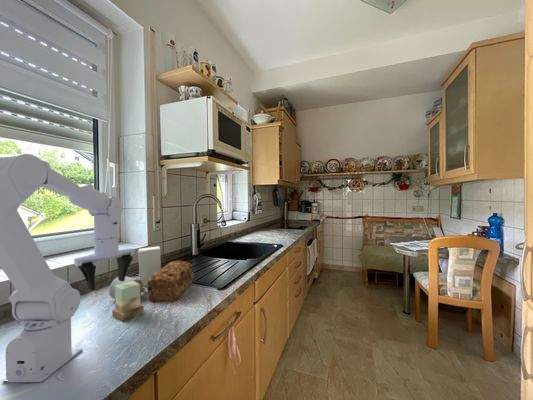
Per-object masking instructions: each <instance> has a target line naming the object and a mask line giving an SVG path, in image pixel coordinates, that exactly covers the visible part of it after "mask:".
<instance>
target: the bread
mask: <svg viewBox="0 0 533 400" xmlns="http://www.w3.org/2000/svg"><path fill="white" fill-rule="evenodd" d="M194 272H195V271H194V265H193V264H191V263H190V262H188V261H185V260H181V259H180V260H172V261H170V262H169V263H167V264H166V265H164V266H163V267H161V269H160V270H159V271H157V272H156V273H155V274H153V275H152V276H151V277H150V278H149V279H148V282H147V286H146V287H147V288H146V290H147V296H148V301H149V302H156V303H157V302H158V303H159V302H161V301H163V302H177V300H178V299H179V298H180V297H181V296H182V295H183V294H184V293H185V291H186V290H187V289H188V288H189V287H190V286H191V285H192V283H193V280H194Z"/></svg>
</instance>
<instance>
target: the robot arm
mask: <svg viewBox="0 0 533 400" xmlns="http://www.w3.org/2000/svg"><path fill="white" fill-rule="evenodd" d="M40 188H44V189H47V190H50V191H52V192H55V193H56V194H60V195H63V196H66V197H68V200H69V202H70V203H71V204H72V205H74V206H76V207H79V208H81V209H84V210H86V211H88V213H89V215H90V216H91V217H93V227H94V228H93V230H94V231H93V234H94V235H93V236H94V237H93V242H94V243H93V245H94V246H93V247H94V253H92V254H88V255H84V256H80V257H79V256H78V257H74V258H73V260H74V262H73V263H74V266H75V267H78V269H79V271H80V272H81V273H82V275H83V276H84V279H85V281H86V284H87V287H88V290H90V291H95V289H96V282H95V279H96V278H95V277H96V270H97V269H96V268H97V266H96V265H94V263H97V262H104V261H108V260H113V259H116V263H117V270H118V272H117V277H118V279H119V281H124V280H125V276H126V275H127V272H128V269H129V267H130V265H131V262H133V259H134V258H133V256H134V255H135V248H132V247H130V248H129V247H128V248H124V249H119V222H120V221H121V214H122V212H123V210H124V206H123V204H122V201H121V199H119V198H117V197H116V196H108V195H107V194H106V193H105V192H104V191H103V192H102V191H101V190H98V189H96V188H95V187H94V185H92V184H90V183H87V184H86V183H85V184H83V183H82V184H78V183H75V182H74V181H73V180H71V179H69V178H68V177H66V176H64V174H63V175H62V174H61V173H60V172H58V171H57V170H54V169H53V168H52V166H51V165H50V163H49V162H47V161H45V160H42V159H40V158H39V157H38V156H36V155H34V154H30V153H18V154H6V155H5V154H0V268H1V269H2V271H3V272H4V274H5V276H6V277H7V278H8V280H9V281H10V283H11V284H12V286H13V287H14V288H15V290H14V291H13V292H11V294H10V296H9V297H8V301H9V302H10V303H11V314H12V317H13V318H14V319H15V320H16V321H19V322H20V327H22V331H21V332H20V333H19V334H18V335H17V336H15V337H14V338H13V339H12V340H10V341H9V342H8V344H7V346H6V348H5V377H6V380H8V381H13V382H12V383H42V382H43V381H45V380H46V379H47V378H49V377H50V376H51V375H53V373H55V372H56V371H57V370H59V369H60V368H61V367H63V366H64V365H66V363H68V362H69V361H70V360H72V359H73V358H74V357H75V356H77V354H79V353H80V352H81V351H83V347H72V346H73V345H72V317H74V316H75V314H76V313H77V311H78V309H79V307H80V304H81V293H80V291H79V290H78V289H76V288H73V287H72V286H71V284H70V283H69V281H67V280H65V279H63V278H61V277H58V276H56V275H54V273H53V271H52V270H51V268H50V266H49V265H48V262H47V261H46V259H45V257H44V256H43V254H42V251H41V250H40V249H39V247H38V245H37V243H36V241H35V240H34V238H33V236H32V234H31V233H30V231H29V228H28V227H27V226H26V224H25V222H24V221H23V219H22V216H21V215H20V213H19V211H18V209H19V208H20V206H21V205H22V203H24V202H26V201H27V200H28V199H29V198H30V197H31V196H32V195H33V194H35V193H36V191H37V190H39V189H40Z"/></svg>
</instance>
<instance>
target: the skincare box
mask: <svg viewBox="0 0 533 400" xmlns="http://www.w3.org/2000/svg"><path fill="white" fill-rule="evenodd" d="M137 255H138V258H137V259H138V273H139V280H141V281H142V283H143V287H148V286H147V282H148V279H149V278H150V277H151V276H152V275H153V274H155V273H156V272H157V271H159V270H160V269H162V259H161V247H160V246H159V245H157V246H151V247H144V248H143V247H141V248H139V249H138V251H137Z"/></svg>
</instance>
